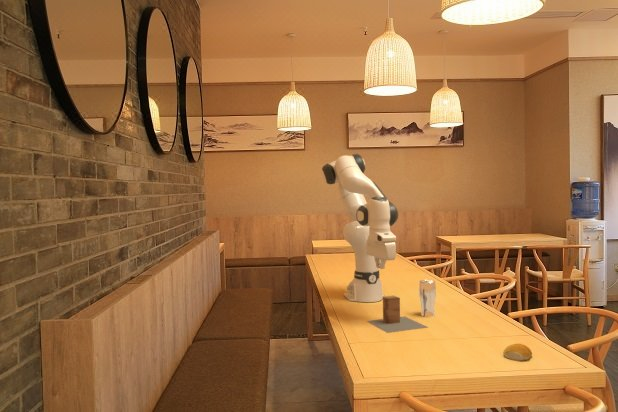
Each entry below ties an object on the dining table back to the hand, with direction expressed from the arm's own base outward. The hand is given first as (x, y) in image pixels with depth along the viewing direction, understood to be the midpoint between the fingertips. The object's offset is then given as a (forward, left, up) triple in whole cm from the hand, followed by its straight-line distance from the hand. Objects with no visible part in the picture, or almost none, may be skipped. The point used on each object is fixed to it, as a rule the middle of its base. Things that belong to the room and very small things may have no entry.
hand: (380, 268), depth 216 cm
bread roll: (+60, +18, -22) cm, 66 cm away
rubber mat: (+13, 0, -21) cm, 25 cm away
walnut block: (+9, 0, -20) cm, 22 cm away
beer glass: (+6, +19, -21) cm, 29 cm away
